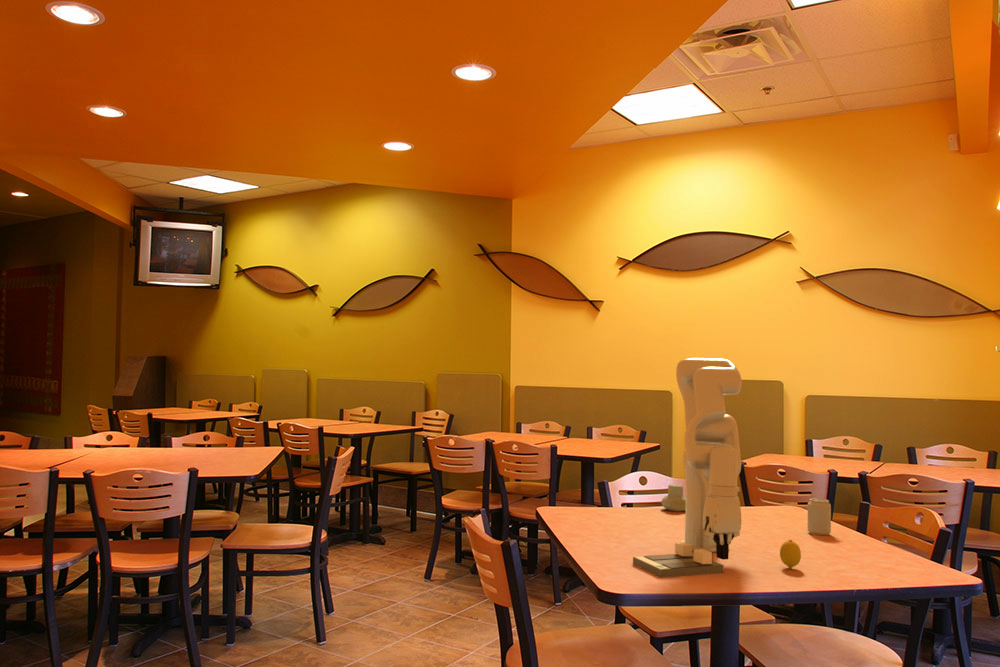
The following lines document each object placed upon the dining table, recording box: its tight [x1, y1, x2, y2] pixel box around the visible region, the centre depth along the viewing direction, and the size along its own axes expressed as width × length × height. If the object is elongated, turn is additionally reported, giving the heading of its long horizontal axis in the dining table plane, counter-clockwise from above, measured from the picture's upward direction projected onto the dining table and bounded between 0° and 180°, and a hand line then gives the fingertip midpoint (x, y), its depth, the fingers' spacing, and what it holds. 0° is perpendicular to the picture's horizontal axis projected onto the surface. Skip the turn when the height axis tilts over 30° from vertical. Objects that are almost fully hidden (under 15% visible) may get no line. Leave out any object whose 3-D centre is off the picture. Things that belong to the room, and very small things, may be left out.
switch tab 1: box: [674, 541, 693, 556], centre depth 212 cm, size 3×4×3 cm
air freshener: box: [661, 483, 686, 513], centre depth 300 cm, size 11×8×10 cm
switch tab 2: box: [693, 549, 713, 564], centre depth 204 cm, size 3×4×3 cm
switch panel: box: [632, 552, 724, 578], centre depth 206 cm, size 20×14×2 cm
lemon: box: [779, 539, 802, 570], centre depth 210 cm, size 6×6×8 cm
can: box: [807, 498, 832, 536], centre depth 261 cm, size 8×8×12 cm
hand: (722, 558), depth 206 cm, fingers closed
